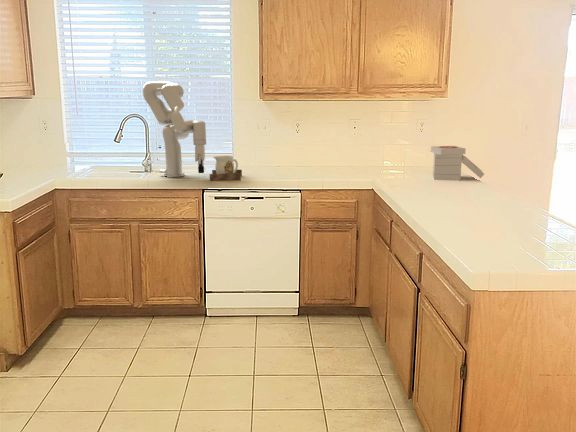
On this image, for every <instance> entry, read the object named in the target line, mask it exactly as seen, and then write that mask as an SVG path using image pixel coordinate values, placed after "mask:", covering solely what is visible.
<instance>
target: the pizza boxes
mask: <svg viewBox="0 0 576 432" xmlns="http://www.w3.org/2000/svg"><path fill="white" fill-rule="evenodd" d="M466 151H467V149H466V148H464V147H462V146H461V147H460V146H456V145H437V146H436V145H435V146H434V145H431V146H430V152H431V153H433V165H432V166H433V167H432V168H433V169H432V178H433V180H434V181H461V177H462V164H463V165H464V166H465V167H467V168H468V169H469V170H470V171H471V172H472V173H474V174H475V175H476V176H477V177H479V179H481V178H483V177H484V175H485V173H484V171H483V170H482V169H481V168H479V167H478V166H477V165H476V164H475V163H473V161H471V160H470V159H469V158H468V157H467V156H465V155H466Z"/></svg>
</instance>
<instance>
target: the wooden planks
mask: <svg viewBox="0 0 576 432" xmlns="http://www.w3.org/2000/svg"><path fill="white" fill-rule="evenodd" d="M242 173H243V170H242V169H237V170H236V172H235V173H233V174H217V173H216V169H212V170H211V173H209V182H233V181H234V182H237V181H238V182H239V181H240V182H241V181H242V180H241V179H242V177H243V174H242Z"/></svg>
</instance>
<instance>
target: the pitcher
mask: <svg viewBox="0 0 576 432" xmlns="http://www.w3.org/2000/svg"><path fill="white" fill-rule="evenodd" d="M212 158H213V159H214V160H216V162H215V169H214V170H216V173H217V174H233V173H235V172H236V170H238V167H239V165H238V164H239V163H238V160H237V159H234V156H232V155H218V156H213V157H212Z"/></svg>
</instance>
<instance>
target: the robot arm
mask: <svg viewBox="0 0 576 432" xmlns="http://www.w3.org/2000/svg"><path fill="white" fill-rule="evenodd" d="M184 93H185V92H184V89H183V87H182V85H180V84H178V83H174V82H170V81H166V80H163V81H162V80H158V81H156V80H155V81H147V82H146V83H145V84H143V88H142V95H143V98H144V100H145V102H146V103H147V105H148V106H149V108H150V109H151V111H152V113H153V116H154V117H155V119H156V121H157V122H158V123H159V124H160V126H164V127H163V128H162V132H161V133H162V137H163V141H164V151H165V152H164V153H165V169H159V171H158V172H159V173H160V174H161V173H163V176H164V177H165V176H167V177H166V178H179V177H185V175H186V174H185V172H183V167H182V166H183V165H182V163H183V162H182V148H181V147H182V146H181V143H180V141H179V140H184V139H186V138H188V136H189V135H190V134H192V136H193V137H192V138H193V139H192V140H193V141H192V142H193V146H194V159H195V160H194V161H195V163H197V165H198V167H197V169H198V173H199V174H204V173H205V167H204V164H205V163H204V161H205V159H206V152H205V151H206V148H205V146H206V145H207V133H206V132H207V131H206V130H207V127H206V121H203V120H194V119H190V120H185V119H184V117H183V116H182V114H181V113H180V111H182V110H183V109H184V108H185V103H184V101H183V99H182V97H184ZM158 96H162V97H163V99H164V101H165V102H166V104H167V105H168V107H169V108H167V106H166V105H165V103H164V101H163V100H162V98H159V97H158Z"/></svg>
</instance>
